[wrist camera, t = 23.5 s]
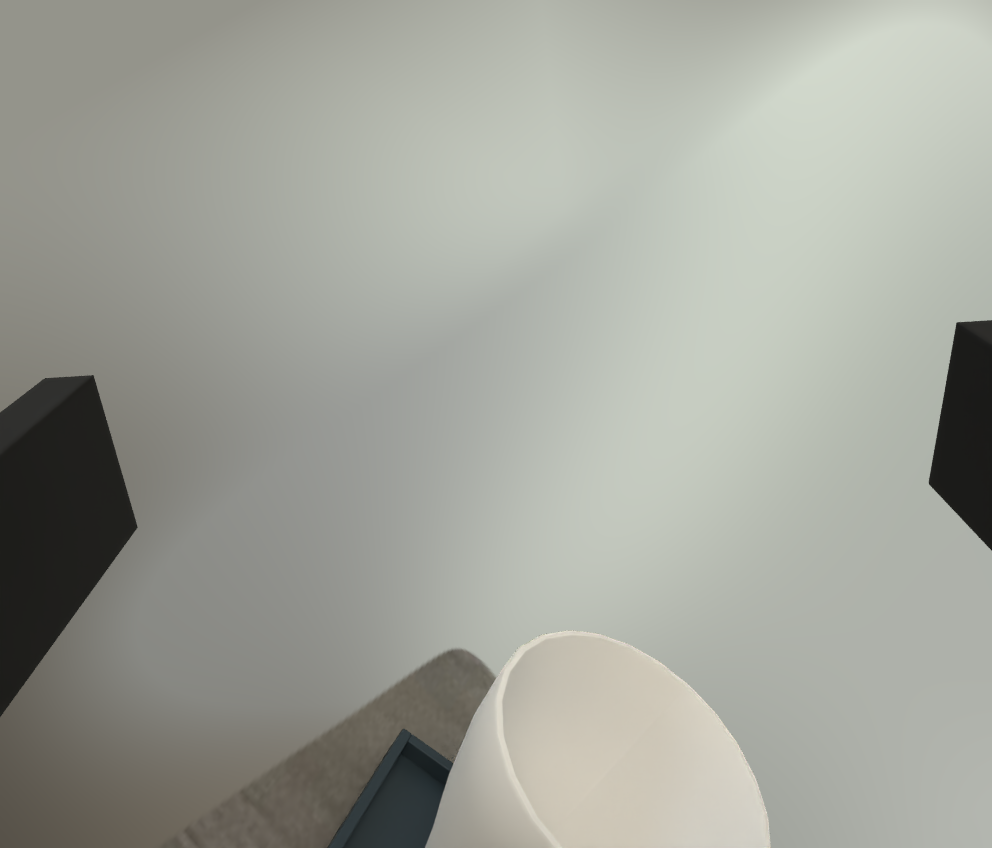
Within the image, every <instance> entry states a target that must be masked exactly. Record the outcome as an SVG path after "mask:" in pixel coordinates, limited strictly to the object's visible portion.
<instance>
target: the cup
mask: <svg viewBox="0 0 992 848" xmlns="http://www.w3.org/2000/svg"><path fill="white" fill-rule="evenodd" d="M425 848H771V845H770V834H769V824H768V815H767V812H766V808H765V805H764V802H763V799H762V796H761V793H760V789H759V786H758V783H757V780H756V778H755V776H754V774H753V772H752V770H751V768H750V766H749V764H748V762H747V760H746V758H745V756H744V755H743V753H742V751H741V749H740V747H739V745H738V743H737V742H736V741H735V739H734V738H733V736H732V735H731V734H730V732H729V731H728V729H727V728H726V727H725V725H724V724H723V723H722V721H721V720H720V718H719V717H718V716H717V715H716V713H715V712H714V711H713V710H712V709H711V707H709V705H708V704H707V703H706V702H705V701H704V700H703V699H702V698H701V697H700V696H699V695H698V694H697V693H696V692H695V691H694V690H693V689H692V688H691V687H690V686H689V685H688V684H687V683H686V682H685V681H683V680H682V679H681V678H680V677H678V676H677V675H676V674H675V673H673V672H672V671H671V670H669V669H668V668H667V667H666V666H664V665H663V664H662V663H661V662H659V661H657V660H656V659H654V658H652V657H650V656H649V655H647V654H645V653H643V652H642V651H640V650H638V649H636V648H635V647H633V646H631V645H629V644H627V643H624V642H621V641H618V640H615V639H612V638H609V637H606V636H604V635H600V634H596V633H588V632H580V631H571V630H568V631H562V632H557V633H551V634H544V635H540V636H538V637H537V638H535V639H533V640H531V641H529V642H528V643H526V644H524V645H522V646H521V647H519V648H518V649H517V650H516V651H515V653H514V654H513V655H512V657H511V658H510V659H509V661H508V662H507V663H506V665H505V666H504V667H503V669H502V670H501V671H500V673H499V675H498V676H497V678H496V680H495V681H494V683H493V685H492V686H491V688H490V690H489V691H488V693H487V694H486V696H485V698H484V699H483V701H482V703H481V704H480V706H479V708H478V709H477V711H476V713H475V714H474V716H473V719H472V721H471V723H470V726H469V728H468V730H467V733H466V735H465V738H464V740H463V742H462V745H461V747H460V749H459V752H458V754H457V757H456V759H455V761H454V764H453V766H452V768H451V771H450V773H449V776H448V779H447V782H446V785H445V789H444V792H443V795H442V798H441V801H440V805H439V808H438V812H437V815H436V819H435V822H434V825H433V828H432V831H431V833H430V836H429V839H428V841H427V844H426V846H425Z"/></svg>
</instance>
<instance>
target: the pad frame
mask: <svg viewBox="0 0 992 848" xmlns="http://www.w3.org/2000/svg"><path fill="white" fill-rule="evenodd" d="M452 766H453V763H452V762H450V761H449V760H447V759H446V758H445V757H443V756H442V755H440V754H439V753H438V752H436V751H435V750H433V749H432V748H431V747H429V746H428V745H426V744H425V743H424V742H422V741H421V740H419V739H418V738H417V737H415V736H414V735H411V733H410V732H408V731H407V730H405V729H403V730H402V731H401V732H400V734H399V735H398V737H397V738H396V740H395V741H394V742H393V744H392V745H391V747H390V748H389V750H388V752H387V753H386V755H385V756H384V758H383V760H382V761H381V763H380V764H379V766H378V768H377V769H376V771H375V772H374V774H373V775H372V777H371V779H370V780H369V782H368V783H367V785H366V787H365V788H364V790H363V791H362V793H361V795H360V796H359V798H358V799H357V801H356V803H355V804H354V806H353V807H352V809H351V811H350V812H349V814H348V815H347V817H346V819H345V820H344V822H343V823H342V825H341V827H340V828H339V830H338V831H337V833H336V834H335V836H334V838H333V839H332V841H331V842H330V844H329V846H328V847H327V848H425V846H426V844H427V841H428V839H429V836H430V833H431V831H432V828H433V825H434V822H435V819H436V815H437V812H438V808H439V805H440V801H441V798H442V795H443V792H444V789H445V785H446V782H447V779H448V776H449V773H450V771H451V768H452Z"/></svg>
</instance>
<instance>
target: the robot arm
mask: <svg viewBox="0 0 992 848" xmlns="http://www.w3.org/2000/svg"><path fill="white" fill-rule="evenodd" d="M929 485H930V486H931V487H932V488H933V489H934V490H935V491H936V492H937V493H938V494H939V495H940V496H941V497H942V498H943V499H944V500H945V502H946V503H948V505H949V506H950V507H951V508H952V509H953V510H954V511H955V512H956V513H957V514H958V515H959V516H960V517H961V518H962V520H963V521H964V522H965V523H966V524H967V525H968V526H969V527H970V528H971V529H972V530H973V531H974V532H975V533H976V534H977V535H978V537H979V538H981V540H982V541H983V542H984V543H985V544H986V545H987V546H988V547H989V548H990V549H991V550H992V320H991V321H974V322H958V323H956V329H955V335H954V341H953V347H952V352H951V358H950V364H949V370H948V375H947V381H946V387H945V392H944V398H943V404H942V409H941V415H940V421H939V427H938V433H937V438H936V444H935V450H934V455H933V461H932V467H931V473H930V478H929ZM136 529H137V524H136V520H135V517H134V513H133V510H132V507H131V503H130V500H129V496H128V493H127V489H126V486H125V482H124V479H123V475H122V473H121V469H120V465H119V462H118V458H117V455H116V451H115V448H114V445H113V441H112V437H111V434H110V431H109V427H108V424H107V420H106V417H105V414H104V410H103V406H102V403H101V400H100V396H99V393H98V390H97V386H96V382H95V379H94V376H93V375H92V376H75V377H59V378H45V379H43V380H42V381H41V382H39V383H38V384H37V385H35V386H34V387H33V388H32V389H30V390H29V391H28V392H26V393H25V394H24V395H23V396H21V397H20V398H19V399H17V400H16V401H15V402H14V403H12V404H11V405H10V406H8V407H7V408H6V409H4V410H3V411H2V412H0V716H1V715H2V714H3V712H4V711H5V710H6V708H7V707H8V705H9V704H10V703H11V701H12V700H13V698H14V697H15V696H16V694H17V693H18V692H19V690H20V689H21V687H22V686H23V685H24V683H25V682H26V681H27V679H28V678H29V676H30V675H31V674H32V672H33V671H34V670H35V668H36V667H37V665H38V664H39V663H40V661H41V660H42V659H43V657H44V656H45V654H46V653H47V652H48V650H49V649H50V647H51V646H52V645H53V643H54V642H55V641H56V639H57V638H58V636H59V635H60V634H61V632H62V631H63V630H64V628H65V627H66V625H67V624H68V622H69V621H70V620H71V618H72V617H73V616H74V614H75V613H76V612H77V610H78V609H79V607H80V606H81V605H82V603H83V602H84V601H85V599H86V598H87V596H88V595H89V594H90V592H91V591H92V590H93V588H94V587H95V585H96V584H97V583H98V581H99V580H100V579H101V577H102V576H103V574H104V573H105V572H106V570H107V569H108V567H109V566H110V564H111V563H112V562H113V561H114V559H115V557H116V556H117V555H118V554H119V552H120V551H121V550H122V548H123V547H124V545H125V544H126V543H127V541H128V540H129V539H130V537H131V536H132V534H133V533H134V531H135V530H136Z"/></svg>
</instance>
